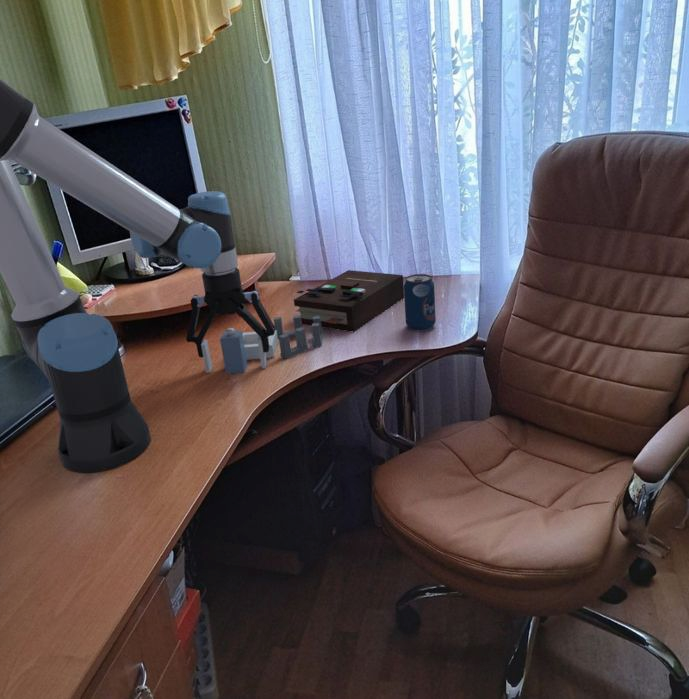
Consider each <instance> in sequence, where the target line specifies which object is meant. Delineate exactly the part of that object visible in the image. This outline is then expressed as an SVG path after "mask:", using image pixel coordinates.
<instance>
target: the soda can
mask: <svg viewBox="0 0 689 699" xmlns="http://www.w3.org/2000/svg"><path fill="white" fill-rule="evenodd" d="M403 286H404V299H403V300H404V313H405V314H404V315H405V324H406V325H407V327H408V329H410V331H413V332H427V331H430V330H431V329H433V327H434V326H435V324H436V320H437V319H436V298H435V295H436V294H435V283H434V281H433V280H432V276H431V275H429V274H424V273H417V274H410V275H408V276H407V277H406V278H405V282H404V283H403Z"/></svg>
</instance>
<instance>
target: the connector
mask: <svg viewBox="0 0 689 699" xmlns="http://www.w3.org/2000/svg"><path fill="white" fill-rule="evenodd" d="M242 333H243V330H240V329H239V330H235V328H234V327H229V328H226V331H223V332H222V333H221V335H220V339H219V341H220V347H221V348H220V349H221V353H222V357H223V362H224V369H225V374H227V375H228V374H239V373H241V374H242V373H245V372H246V371H247V370H246V369H247V366H248V360H247V358H246V352H245V346H244V340H243V334H242Z"/></svg>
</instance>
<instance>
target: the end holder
mask: <svg viewBox="0 0 689 699" xmlns="http://www.w3.org/2000/svg"><path fill="white" fill-rule="evenodd" d="M242 334H243V340H244V346H245V352H246V358H247V361H248V360H261V359H260V353H259V346H258V338H259V335H258V334H257V333H256V332H255V331H248V332H242ZM268 340H269V351H268V352H265V353H266V359H273V357H274V358H275V355H276V352H277V347H278V344H279V339H278V337H277V330H275V333H274V335H272V336H269V337H268ZM275 351H276V352H275ZM271 357H272V358H271Z"/></svg>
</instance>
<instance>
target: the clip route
mask: <svg viewBox="0 0 689 699" xmlns="http://www.w3.org/2000/svg"><path fill="white" fill-rule="evenodd" d="M282 320H283V319H282V316H275V317H274V318H273V324H274V326H275V328H276V330H277V337H278V344H279V349H280V358H281V357H282V358H283V359H284V358H285V359H284V360H288V359H289V358H292V357H294V356H297V355H299V354H300V353H303V352H305V350H306V351H308V350H309V347H308V344H307V343H308V342H307V337H306V335H307V334H306V329H305V328H303V324H302V323H301V315H300V314H298V315H293V326H294V327H293V328H294V331H284V328H283V321H282ZM322 328H323V327H321V319H320V316H314V317H313V324H312V326H311V332H312V341H313V342H312V345H313V348H317V346H320V347H322V346H323V345H322V344H323V338H324V337H323V336H324V335H323V330H322ZM291 339H295V341H296V342H295V343H296V345H295V346H293V347H291V341H290V340H291ZM282 358H281V359H282Z"/></svg>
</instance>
